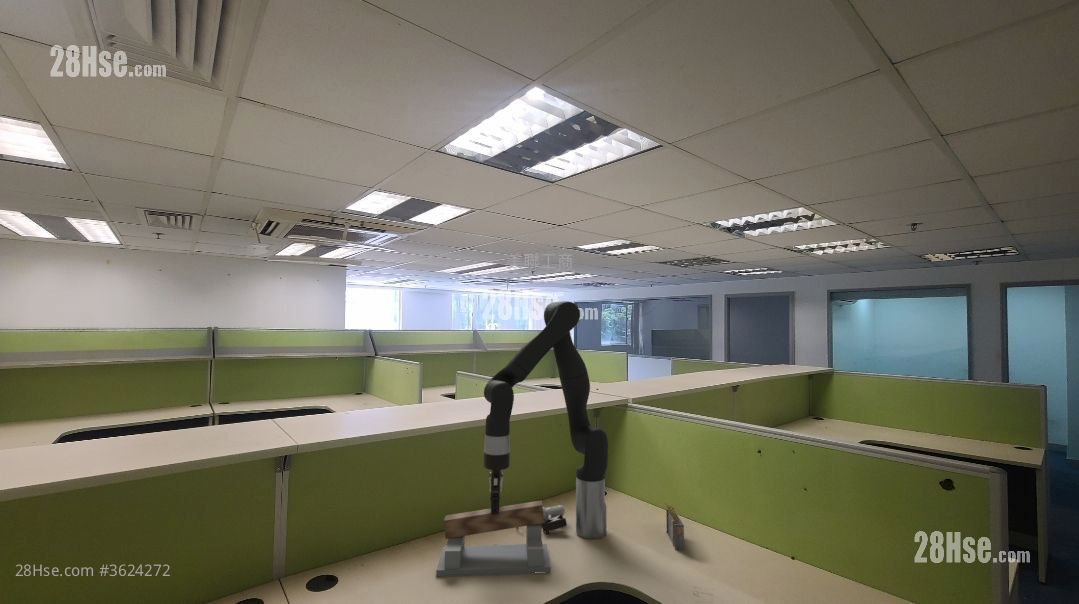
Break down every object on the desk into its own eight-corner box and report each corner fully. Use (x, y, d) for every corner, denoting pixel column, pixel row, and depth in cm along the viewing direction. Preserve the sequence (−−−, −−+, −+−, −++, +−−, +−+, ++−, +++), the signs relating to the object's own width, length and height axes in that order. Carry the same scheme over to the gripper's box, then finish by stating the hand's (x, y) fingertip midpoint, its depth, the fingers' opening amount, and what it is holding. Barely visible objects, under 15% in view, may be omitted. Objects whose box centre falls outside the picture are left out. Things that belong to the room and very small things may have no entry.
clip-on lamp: (513, 543, 139) (568, 531, 138) (508, 524, 139) (564, 512, 138) (515, 523, 150) (566, 513, 150) (511, 506, 150) (562, 495, 150)
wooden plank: (543, 517, 128) (541, 500, 128) (544, 522, 124) (542, 504, 125) (447, 533, 126) (445, 515, 126) (445, 538, 122) (443, 520, 122)
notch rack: (546, 549, 129) (546, 517, 130) (550, 572, 116) (550, 537, 117) (443, 551, 127) (444, 519, 128) (436, 576, 114) (437, 540, 115)
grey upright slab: (665, 534, 140) (664, 502, 141) (674, 534, 140) (674, 503, 141) (673, 551, 129) (673, 517, 130) (684, 551, 129) (683, 517, 130)
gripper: (510, 457, 120) (508, 518, 118) (509, 444, 134) (508, 498, 133) (482, 457, 119) (480, 518, 118) (485, 444, 133) (483, 499, 132)
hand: (495, 508), depth 125 cm, fingers open, 8 cm apart
